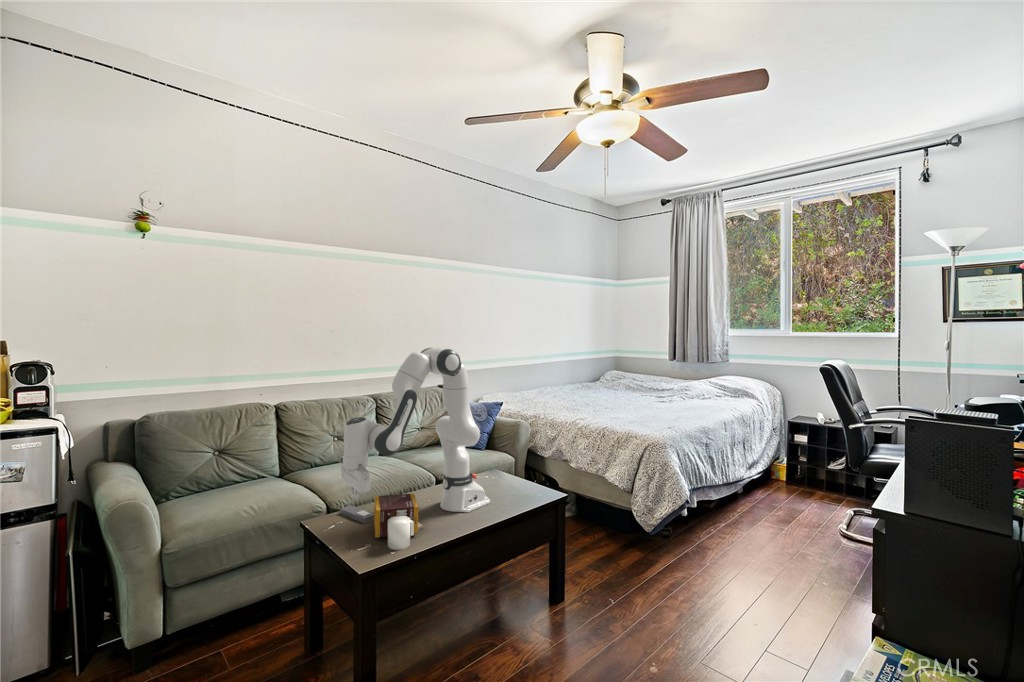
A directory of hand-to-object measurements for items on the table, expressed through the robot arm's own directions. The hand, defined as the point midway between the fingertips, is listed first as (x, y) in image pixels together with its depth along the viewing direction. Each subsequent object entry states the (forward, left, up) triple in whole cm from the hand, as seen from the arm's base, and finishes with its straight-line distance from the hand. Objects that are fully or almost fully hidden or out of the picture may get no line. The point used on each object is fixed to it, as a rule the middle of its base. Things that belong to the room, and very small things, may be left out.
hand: (355, 497), depth 179 cm
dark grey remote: (-7, -17, -15) cm, 24 cm away
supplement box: (-7, +2, -8) cm, 11 cm away
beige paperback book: (-18, 0, -15) cm, 23 cm away
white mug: (-10, +16, -15) cm, 24 cm away
